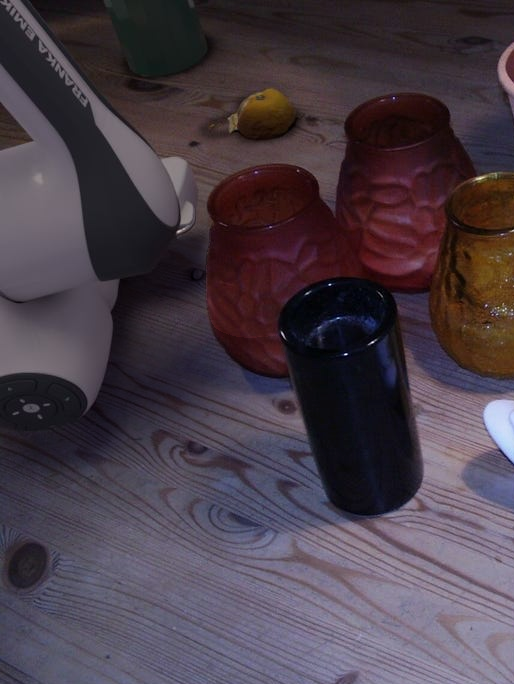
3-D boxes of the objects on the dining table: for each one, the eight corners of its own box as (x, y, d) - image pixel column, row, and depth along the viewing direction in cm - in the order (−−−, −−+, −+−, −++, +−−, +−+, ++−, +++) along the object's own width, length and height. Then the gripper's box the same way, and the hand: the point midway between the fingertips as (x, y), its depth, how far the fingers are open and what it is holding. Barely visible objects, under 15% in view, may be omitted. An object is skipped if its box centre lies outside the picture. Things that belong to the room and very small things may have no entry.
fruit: (259, 96, 104) (249, 64, 102) (318, 114, 100) (310, 82, 98) (202, 136, 100) (191, 104, 97) (262, 158, 96) (252, 125, 93)
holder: (122, 85, 109) (87, -3, 102) (139, 45, 115) (107, -40, 108) (201, 76, 108) (172, -13, 101) (214, 37, 115) (187, -49, 108)
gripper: (182, 201, 75) (188, 107, 85) (-92, 252, 74) (-54, 151, 84) (206, 265, 80) (210, 169, 90) (-52, 314, 79) (-20, 211, 89)
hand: (80, 160), depth 87 cm, fingers closed on shaker, 4 cm apart
